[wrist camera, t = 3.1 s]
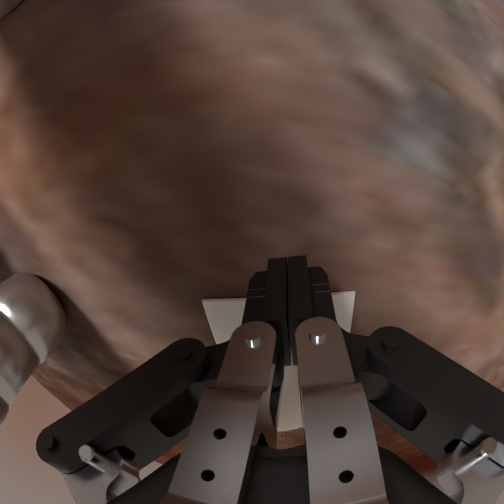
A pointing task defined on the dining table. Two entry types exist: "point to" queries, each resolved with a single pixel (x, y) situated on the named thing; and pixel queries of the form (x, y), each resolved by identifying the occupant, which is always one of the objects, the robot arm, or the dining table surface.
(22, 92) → the dining table surface
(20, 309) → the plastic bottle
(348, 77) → the dining table surface
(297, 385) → the ball
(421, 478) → the robot arm
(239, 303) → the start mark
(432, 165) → the dining table surface
